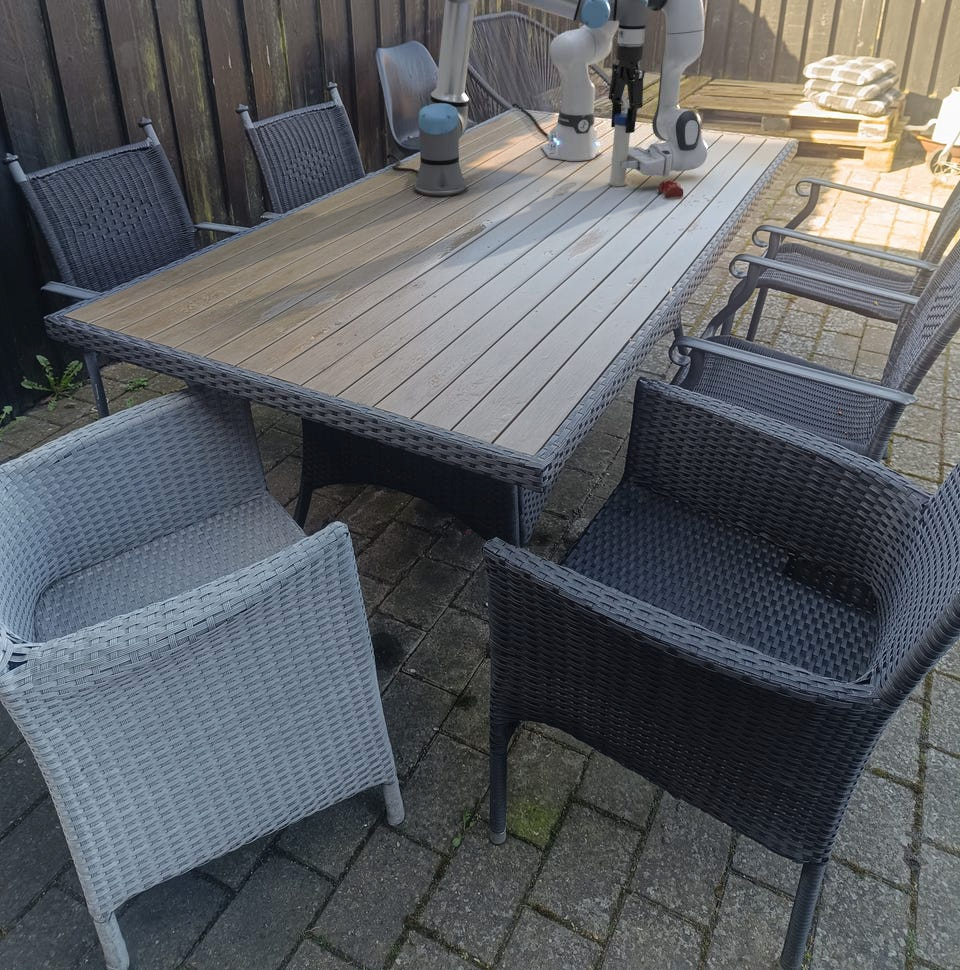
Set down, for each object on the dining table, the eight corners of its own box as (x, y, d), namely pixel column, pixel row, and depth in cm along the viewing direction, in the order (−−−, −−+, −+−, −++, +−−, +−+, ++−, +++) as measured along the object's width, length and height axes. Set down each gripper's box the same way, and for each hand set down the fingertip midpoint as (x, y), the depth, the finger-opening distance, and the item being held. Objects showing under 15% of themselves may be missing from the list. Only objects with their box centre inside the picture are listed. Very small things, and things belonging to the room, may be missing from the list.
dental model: (674, 175, 255) (686, 183, 249) (673, 189, 258) (684, 197, 251) (657, 177, 254) (668, 185, 248) (656, 192, 257) (667, 200, 250)
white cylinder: (625, 182, 265) (631, 115, 253) (624, 186, 261) (631, 118, 249) (610, 181, 265) (615, 114, 254) (609, 186, 262) (615, 118, 250)
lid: (632, 121, 255) (633, 113, 253) (632, 125, 250) (632, 117, 249) (614, 120, 255) (614, 112, 254) (613, 124, 251) (614, 116, 250)
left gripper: (600, 40, 247) (594, 123, 260) (638, 50, 232) (630, 138, 245) (622, 39, 249) (615, 121, 263) (661, 49, 234) (652, 135, 248)
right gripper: (643, 140, 269) (603, 143, 265) (674, 156, 253) (632, 160, 249) (641, 160, 272) (601, 164, 269) (671, 177, 256) (630, 181, 253)
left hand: (622, 129), depth 254 cm, fingers open, 7 cm apart
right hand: (616, 162), depth 259 cm, fingers closed on white cylinder, 5 cm apart
